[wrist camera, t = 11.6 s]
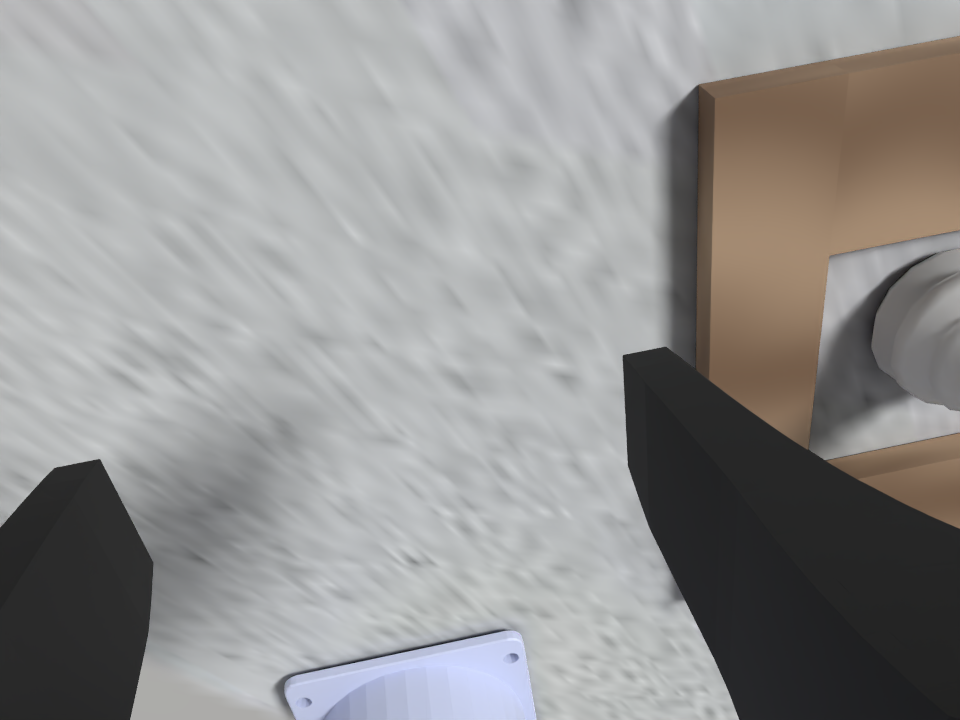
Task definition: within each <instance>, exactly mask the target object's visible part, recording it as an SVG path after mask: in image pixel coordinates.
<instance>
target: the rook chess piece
mask: <svg viewBox="0 0 960 720" xmlns="http://www.w3.org/2000/svg"><path fill="white" fill-rule="evenodd" d="M871 348H872V351H873V354H874V356H875V359H876V361H877V364H878V367H879V368H880V369H881V370H882V371H884V372H885V373H887V374H888V375H889V376H891V377H892V378H893V379H895V380H896V381H897V383H898V385H899V386H901V387H902V388H903V389H905V390H906V391H908V392H909V393H910V394H912V395H913V396H914V397H916V398H918V399H920V400H922V401H924V402H926V403H931V404H938V405H944V406H945V407H947V408H948V409H949V410H955V411H960V249H955V250H950V251H945V252H940V253H937V254H935V255H933V256H931V257H929V258H927V259H926V260H924V261H922V262H920V263H918V264H916V265H915V266H913V267H911V268H910V269H909V270H908V271H907V272H906V273H905V274H904V275H903V276H902V277H901V278H900V279H899V280H898V281H897V282H896V283H894V284H893V285H892V286H891V287H890V289H889V290H888V292H887V294H886V296H885V298H884V299H883V301H882V303H881V305H880V306H879V308H878V310H877V313H876V318H875V323H874V330H873V337H872V344H871Z"/></svg>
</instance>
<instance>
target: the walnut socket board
mask: <svg viewBox="0 0 960 720" xmlns="http://www.w3.org/2000/svg"><path fill="white" fill-rule="evenodd" d="M957 230H960V36H957V37H952V38H947V39H941V40H936V41H931V42H925V43H920V44H914V45H909V46H904V47H898V48H893V49H887V50H882V51H877V52H871V53H866V54H861V55H855V56H850V57H844V58H839V59H834V60H828V61H823V62H817V63H812V64H807V65H801V66H796V67H791V68H785V69H780V70H774V71H769V72H764V73H758V74H753V75H748V76H742V77H737V78H731V79H726V80H721V81H715V82H710V83H704V84H699V112H698V213H697V314H696V370H697V371H698V372H699V373H701V374H702V375H703V376H705V377H706V378H707V379H708V380H710V381H711V382H712V383H714V384H715V385H716V386H718V387H719V388H720V389H722V390H723V391H724V392H725V393H727V394H728V395H729V396H731V397H732V398H733V399H735V400H736V401H737V402H739V403H740V404H742V405H743V406H744V407H746V408H747V409H748V410H750V411H751V412H753V413H754V414H755V415H757V416H758V417H760V418H761V419H763V420H764V421H765V422H767V423H768V424H770V425H771V426H772V427H774V428H775V429H777V430H778V431H780V432H781V433H782V434H784V435H785V436H787V437H788V438H790V439H791V440H793V441H794V442H796V443H798V444H799V445H801V446H802V447H804V448H806V449H807V450H808V447H809V438H810V429H811V420H812V410H813V401H814V392H815V383H816V374H817V365H818V355H819V346H820V337H821V328H822V319H823V310H824V300H825V291H826V282H827V273H828V264H829V256H830V255H835V254H840V253H845V252H850V251H855V250H860V249H865V248H871V247H876V246H881V245H886V244H891V243H896V242H901V241H906V240H911V239H916V238H922V237H927V236H932V235H937V234H942V233H947V232H952V231H957ZM827 462H828V463H830V464H832V465H833V466H835V467H837V468H838V469H840V470H842V471H844V472H845V473H847V474H849V475H851V476H852V477H854V478H856V479H858V480H860V481H862V482H864V483H866V484H867V485H869V486H871V487H873V488H875V489H877V490H879V491H881V492H883V493H885V494H887V495H889V496H891V497H892V498H894V499H896V500H898V501H900V502H902V503H904V504H906V505H908V506H910V507H912V508H914V509H917V510H919V511H921V512H923V513H925V514H927V515H929V516H931V517H934V518H936V519H938V520H941V521H943V522H945V523H947V524H950V525H952V526H954V527H957V528H959V529H960V433H958V434H953V435H948V436H943V437H938V438H933V439H929V440H924V441H919V442H914V443H909V444H904V445H900V446H895V447H890V448H885V449H880V450H875V451H871V452H866V453H861V454H856V455H851V456H846V457H842V458H837V459H832V460H827Z"/></svg>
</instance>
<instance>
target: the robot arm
mask: <svg viewBox="0 0 960 720" xmlns="http://www.w3.org/2000/svg"><path fill="white" fill-rule="evenodd" d="M623 372H624V392H625V413H626V434H627V454H628V467H629V470H630V473H631V476H632V479H633V482H634V485H635V488H636V491H637V494H638V497H639V500H640V502H641V505H642V508H643V511H644V514H645V516H646V519H647V522H648V525H649V528H650V530H651V532H652V534H653V536H654V538H655V540H656V542H657V544H658V546H659V548H660V550H661V552H662V554H663V556H664V559H665V561H666V563H667V565H668V567H669V569H670V571H671V573H672V575H673V577H674V579H675V581H676V583H677V585H678V587H679V589H680V591H681V593H682V595H683V597H684V599H685V601H686V603H687V605H688V607H689V609H690V611H691V613H692V615H693V617H694V619H695V621H696V623H697V625H698V627H699V629H700V631H701V633H702V635H703V637H704V639H705V641H706V643H707V645H708V647H709V649H710V651H711V653H712V655H713V657H714V659H715V662H716V664H717V666H718V668H719V671H720V673H721V675H722V677H723V680H724V682H725V684H726V686H727V689H728V691H729V693H730V696H731V699H732V701H733V704H734V707H735V709H736V712H737V715H738V717H739V720H960V529H959V528H957V527H954V526H952V525H950V524H947V523H945V522H943V521H941V520H938V519H936V518H934V517H931V516H929V515H927V514H925V513H923V512H921V511H919V510H917V509H914V508H912V507H910V506H908V505H906V504H904V503H902V502H900V501H898V500H896V499H894V498H892V497H891V496H889V495H887V494H885V493H883V492H881V491H879V490H877V489H875V488H873V487H871V486H869V485H867V484H866V483H864V482H862V481H860V480H858V479H856V478H854V477H852V476H851V475H849V474H847V473H845V472H844V471H842V470H840V469H838V468H837V467H835V466H833V465H832V464H830V463H828V462H827V461H825V460H823V459H822V458H820V457H819V456H817V455H815V454H814V453H812V452H811V451H809V450H807V449H806V448H804V447H802V446H801V445H799V444H798V443H796V442H794V441H793V440H791V439H790V438H788V437H787V436H785V435H784V434H782V433H781V432H780V431H778V430H777V429H775V428H774V427H772V426H771V425H770V424H768V423H767V422H765V421H764V420H763V419H761V418H760V417H758V416H757V415H755V414H754V413H753V412H751V411H750V410H748V409H747V408H746V407H744V406H743V405H742V404H740V403H739V402H737V401H736V400H735V399H733V398H732V397H731V396H729V395H728V394H727V393H725V392H724V391H723V390H722V389H720V388H719V387H718V386H716V385H715V384H714V383H712V382H711V381H710V380H708V379H707V378H706V377H705V376H703V375H702V374H701V373H699V372H698V371H697V370H696V369H694V368H693V367H692V366H691V365H689V364H688V363H687V362H685V361H684V360H683V359H682V358H680V357H679V356H678V355H676V354H675V353H674V352H672V351H671V350H670V349H668V348H667V347H662V348H657V349H652V350H647V351H642V352H637V353H632V354H627V355H623ZM152 577H153V561H152V559H151V557H150V555H149V553H148V551H147V549H146V548H145V546H144V544H143V542H142V540H141V538H140V536H139V534H138V532H137V530H136V528H135V526H134V524H133V522H132V520H131V518H130V517H129V515H128V513H127V511H126V509H125V507H124V505H123V503H122V501H121V499H120V497H119V495H118V493H117V491H116V489H115V487H114V485H113V484H112V482H111V480H110V478H109V476H108V474H107V472H106V470H105V468H104V466H103V464H102V462H101V460H100V459H98V460H93V461H88V462H82V463H77V464H72V465H67V466H62V467H57V468H54V469H53V470H52V471H51V472H50V473H49V474H48V475H47V476H46V477H45V478H44V479H43V480H42V481H41V482H40V484H39V485H38V486H37V487H36V488H35V489H34V490H33V491H32V492H31V493H30V495H29V496H28V497H27V498H26V499H25V500H24V501H23V502H22V504H21V505H20V506H19V507H18V508H17V509H16V510H15V512H14V513H13V514H12V515H11V516H10V517H9V518H8V520H7V521H6V522H5V523H4V524H3V525H2V526H1V528H0V720H130V717H131V712H132V708H133V703H134V699H135V694H136V690H137V685H138V680H139V675H140V671H141V666H142V661H143V656H144V652H145V647H146V642H147V637H148V631H149V620H150V609H151V596H152ZM284 693H285V697H286V700H287V702H288V704H289V706H290V709H291V711H292V713H293V715H294V718H295V720H537V719H536V713H535V707H534V701H533V696H532V690H531V684H530V678H529V672H528V666H527V660H526V654H525V648H524V643H523V639H522V636H521V634H520V633H518V632H516V631H512V630H509V631H502V632H498V633H493V634H488V635H483V636H479V637H474V638H469V639H465V640H460V641H455V642H451V643H446V644H441V645H436V646H432V647H427V648H422V649H418V650H413V651H408V652H403V653H399V654H394V655H389V656H385V657H380V658H375V659H370V660H366V661H361V662H356V663H352V664H347V665H342V666H337V667H333V668H328V669H323V670H319V671H314V672H309V673H305V674H300V675H296V676H293V677H291V678H289V679H288V680H287V681H286V683H285V689H284Z"/></svg>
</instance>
